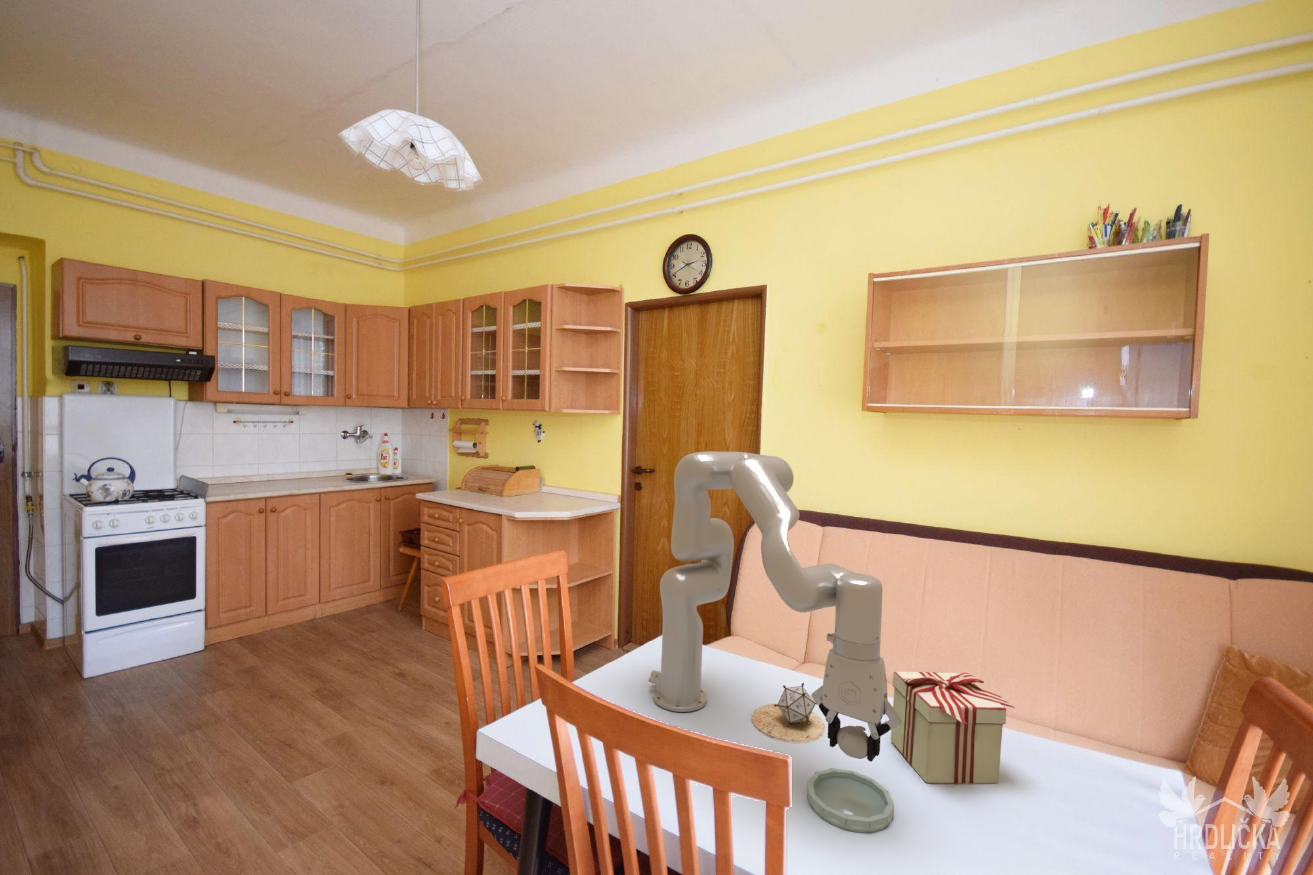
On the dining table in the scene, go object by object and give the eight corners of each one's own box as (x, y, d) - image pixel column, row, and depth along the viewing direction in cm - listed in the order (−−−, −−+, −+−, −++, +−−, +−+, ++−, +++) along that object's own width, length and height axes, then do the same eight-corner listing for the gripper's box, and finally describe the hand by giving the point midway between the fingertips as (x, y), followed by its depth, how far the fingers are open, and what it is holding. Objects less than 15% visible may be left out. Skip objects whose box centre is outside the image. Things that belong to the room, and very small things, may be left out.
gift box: (939, 798, 103) (944, 703, 103) (883, 741, 121) (887, 660, 121) (1024, 793, 106) (1029, 700, 105) (957, 738, 124) (961, 658, 123)
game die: (802, 742, 126) (820, 720, 121) (766, 723, 128) (782, 701, 122) (809, 707, 134) (826, 684, 128) (774, 689, 135) (790, 666, 129)
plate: (794, 806, 99) (794, 795, 99) (825, 770, 110) (825, 759, 110) (877, 845, 91) (878, 833, 91) (902, 801, 102) (903, 790, 102)
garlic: (877, 756, 100) (878, 726, 99) (861, 768, 96) (862, 736, 96) (846, 741, 104) (847, 712, 104) (829, 752, 100) (830, 722, 100)
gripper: (800, 640, 102) (797, 741, 102) (903, 667, 91) (898, 780, 92) (817, 629, 108) (814, 725, 108) (915, 654, 97) (911, 760, 98)
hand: (853, 749), depth 100 cm, fingers closed on garlic, 5 cm apart
